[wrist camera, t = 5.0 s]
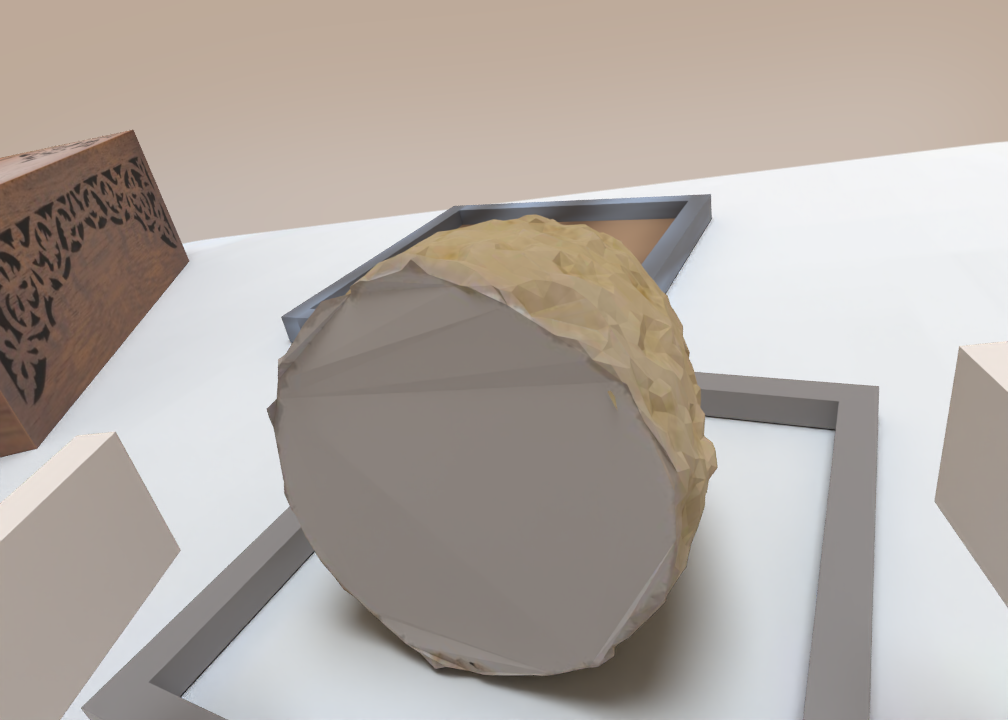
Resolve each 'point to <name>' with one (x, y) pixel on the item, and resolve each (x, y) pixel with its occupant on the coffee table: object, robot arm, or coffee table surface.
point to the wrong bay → (845, 407)
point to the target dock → (635, 221)
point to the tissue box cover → (74, 273)
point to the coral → (498, 445)
